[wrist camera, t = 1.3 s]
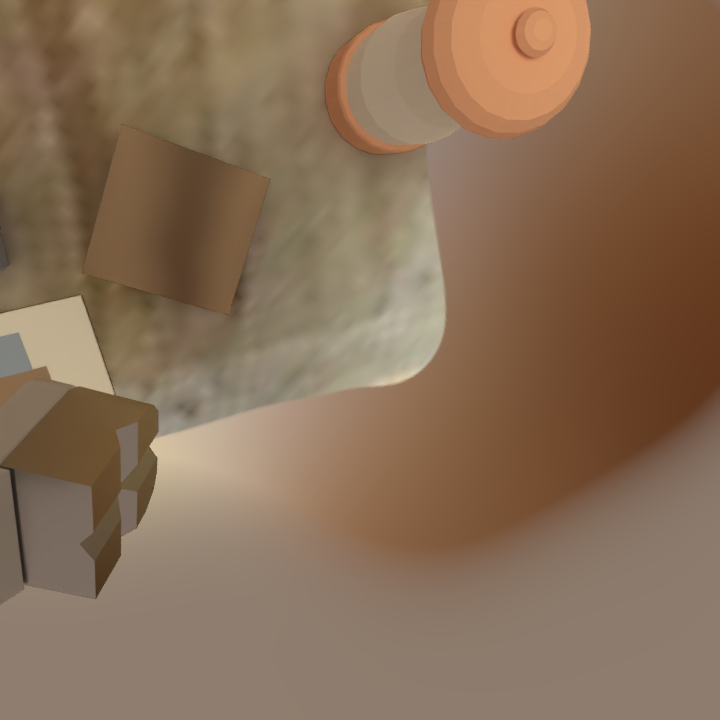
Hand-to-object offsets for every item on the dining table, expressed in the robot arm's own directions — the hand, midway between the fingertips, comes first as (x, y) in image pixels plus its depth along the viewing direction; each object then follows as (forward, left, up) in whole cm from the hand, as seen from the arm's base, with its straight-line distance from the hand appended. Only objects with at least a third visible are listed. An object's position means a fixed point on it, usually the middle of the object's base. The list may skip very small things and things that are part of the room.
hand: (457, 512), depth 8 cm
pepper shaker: (+5, +12, -35) cm, 37 cm away
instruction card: (-10, -12, -35) cm, 38 cm away
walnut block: (-4, 0, -35) cm, 35 cm away
